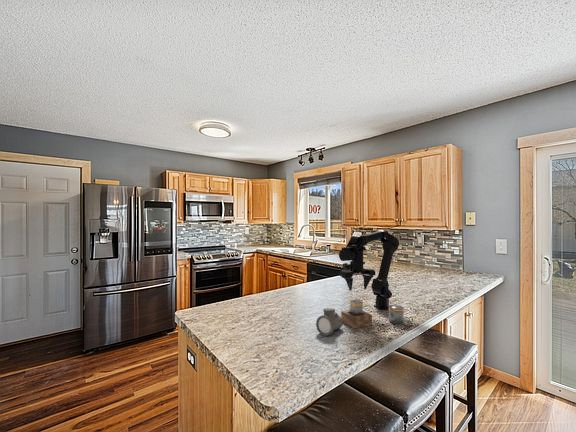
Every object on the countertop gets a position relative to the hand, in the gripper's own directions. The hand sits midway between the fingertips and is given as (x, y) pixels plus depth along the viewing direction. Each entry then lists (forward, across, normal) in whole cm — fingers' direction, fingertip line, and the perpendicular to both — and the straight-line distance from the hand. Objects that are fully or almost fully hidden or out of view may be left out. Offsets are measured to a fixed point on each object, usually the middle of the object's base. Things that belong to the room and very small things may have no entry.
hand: (357, 289), depth 143 cm
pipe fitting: (+12, +25, +14) cm, 31 cm away
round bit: (+12, -9, +17) cm, 23 cm away
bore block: (+12, +9, +10) cm, 18 cm away
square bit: (+11, +9, +10) cm, 18 cm away
